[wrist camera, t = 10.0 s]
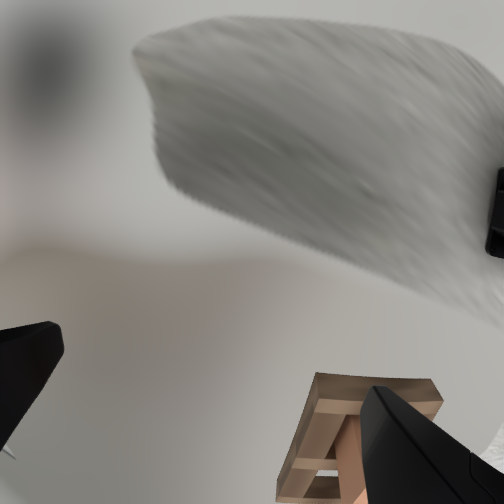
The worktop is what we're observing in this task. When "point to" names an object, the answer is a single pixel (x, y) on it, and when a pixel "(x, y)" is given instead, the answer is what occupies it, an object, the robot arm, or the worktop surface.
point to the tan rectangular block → (350, 461)
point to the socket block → (327, 426)
